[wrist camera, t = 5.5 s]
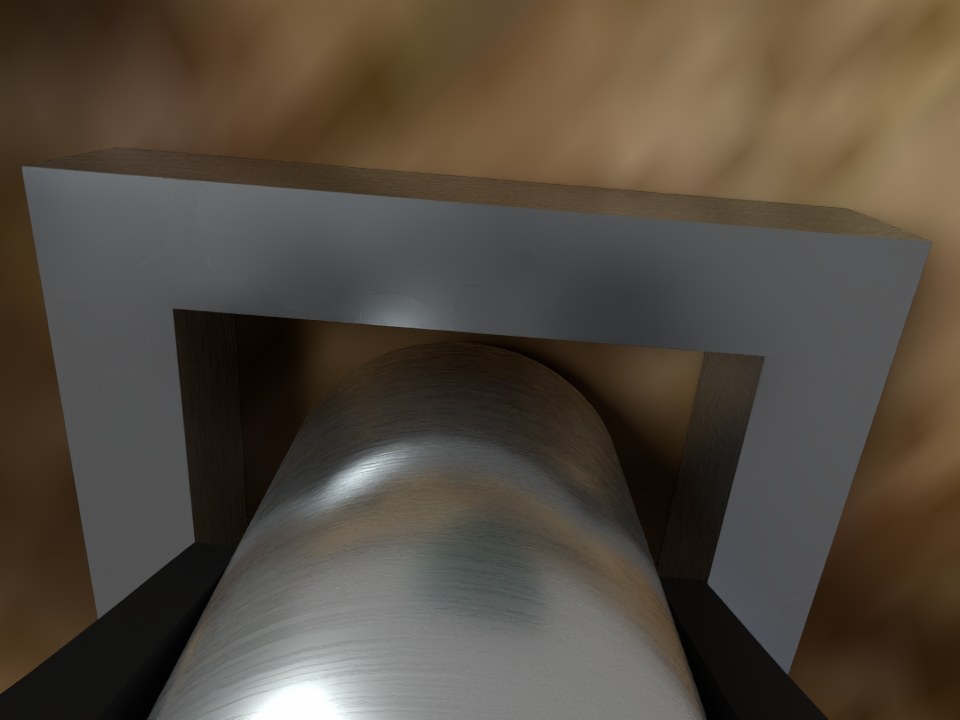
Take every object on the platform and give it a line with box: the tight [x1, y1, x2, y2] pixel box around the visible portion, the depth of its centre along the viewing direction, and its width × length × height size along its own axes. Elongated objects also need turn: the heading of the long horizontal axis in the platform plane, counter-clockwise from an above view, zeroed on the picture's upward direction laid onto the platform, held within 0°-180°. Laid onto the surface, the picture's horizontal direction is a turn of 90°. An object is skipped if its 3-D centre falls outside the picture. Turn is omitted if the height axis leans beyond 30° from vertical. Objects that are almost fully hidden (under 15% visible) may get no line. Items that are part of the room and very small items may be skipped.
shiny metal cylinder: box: [147, 342, 707, 720], centre depth 8 cm, size 5×5×6 cm
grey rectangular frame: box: [22, 147, 932, 675], centre depth 10 cm, size 10×10×2 cm
